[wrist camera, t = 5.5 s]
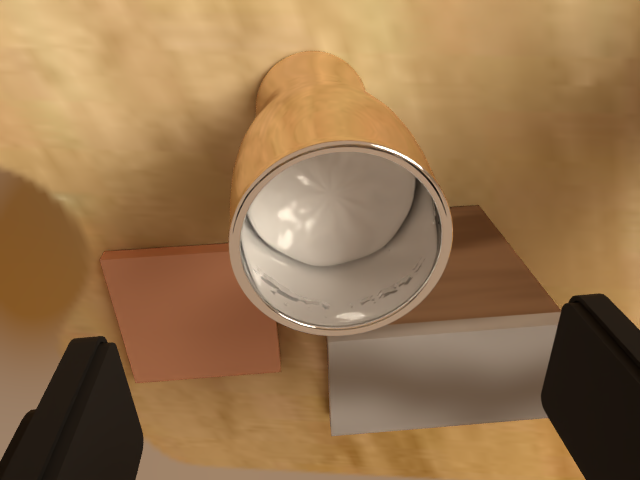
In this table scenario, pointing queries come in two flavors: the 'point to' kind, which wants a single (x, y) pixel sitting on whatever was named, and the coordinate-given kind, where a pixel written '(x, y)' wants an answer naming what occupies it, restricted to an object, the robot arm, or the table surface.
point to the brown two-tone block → (451, 346)
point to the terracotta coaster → (187, 314)
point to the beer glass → (333, 204)
